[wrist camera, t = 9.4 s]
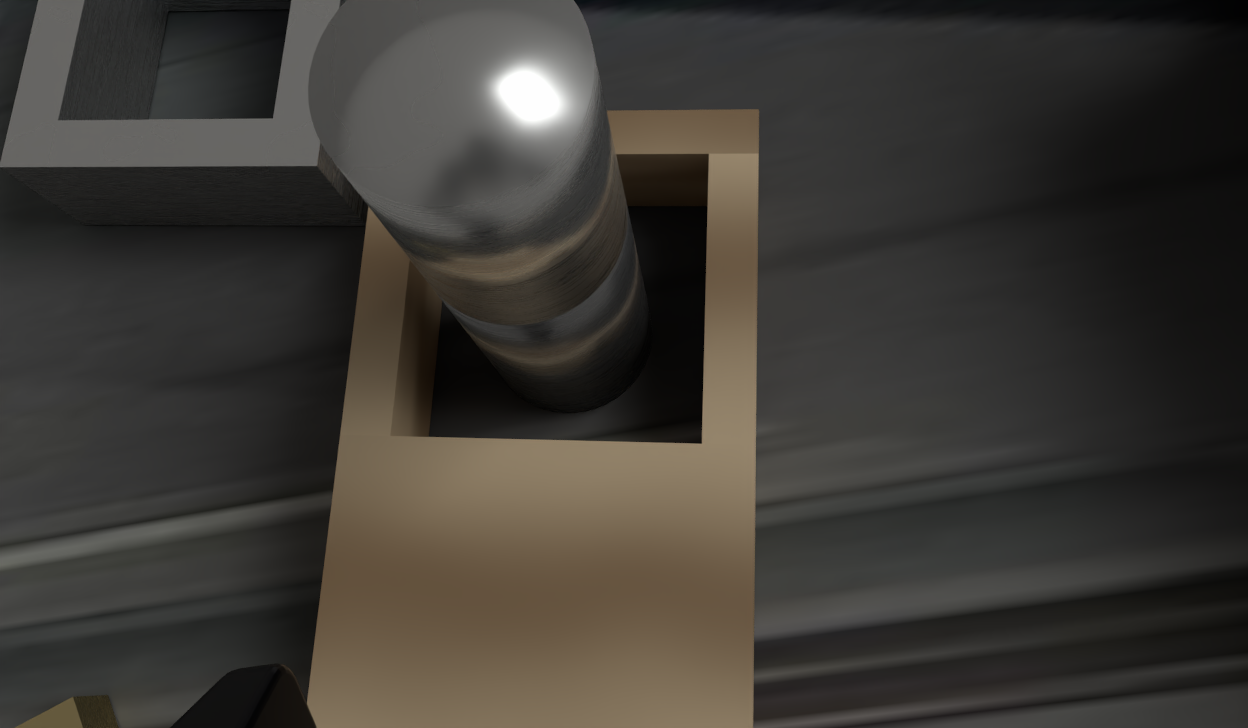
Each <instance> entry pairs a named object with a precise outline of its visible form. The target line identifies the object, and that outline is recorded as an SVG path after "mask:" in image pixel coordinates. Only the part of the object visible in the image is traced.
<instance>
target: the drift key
mask: <svg viewBox="0 0 1248 728" xmlns="http://www.w3.org/2000/svg"><path fill="white" fill-rule="evenodd" d="M15 728H119V727H118V724H117V721H116V718H115V715H114V712H113V709H112V706H111V703H110V700H109V697H108V695H102V696H81V697H72V698H70V699H68V700H66V701H64V702H62V703H60V704H59V705H57V706H55V707H53V708H51V709H49V710H47V711H45V712H43V713H42V714H40V715H38V716H36V717H34V718H32V719H30V720H28V721H26V722H25V723H23V724H21V725H19V726H17V727H15Z"/></svg>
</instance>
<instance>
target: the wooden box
mask: <svg viewBox="0 0 1248 728" xmlns="http://www.w3.org/2000/svg"><path fill="white" fill-rule="evenodd" d="M607 115H608V120H609V124H610V129H611V134H612V138H613V143H614V147H615V152H616V157H617V161H618V166H619V171H620V175H621V180H622V185H623V189H624V194H625V198H626V203H627V206H708V212H707V252H706V293H705V334H704V375H703V416H702V444H694V443H654V442H613V441H572V440H532V439H491V438H450V437H429V429H430V419H431V409H432V399H433V389H434V379H435V369H436V359H437V349H438V339H439V329H440V319H441V309H442V300H441V299H440V297H439V296H438V295H437V294H436V292H435V291H434V290H433V288H432V287H431V286H430V285H429V283H428V282H427V281H426V279H425V278H424V277H423V276H422V274H421V273H420V272H419V270H418V269H417V268H416V267H415V265H414V264H413V263H412V261H411V260H410V259H409V258H408V256H407V255H406V254H405V253H404V251H403V250H402V249H401V247H400V246H399V245H398V244H397V242H396V241H395V240H394V238H393V237H392V236H391V235H390V233H389V232H388V231H387V229H386V228H385V227H384V226H383V224H382V223H381V222H380V220H379V219H378V218H377V217H376V215H375V214H374V213H373V212H372V210H371V209H370V208H369V206H368V214H367V222H366V231H365V239H364V247H363V255H362V263H361V271H360V279H359V287H358V295H357V303H356V311H355V319H354V327H353V335H352V343H351V352H350V360H349V368H348V376H347V384H346V392H345V400H344V408H343V416H342V424H341V432H340V440H339V448H338V456H337V464H336V473H335V481H334V489H333V497H332V505H331V513H330V521H329V529H328V537H327V545H326V553H325V561H324V569H323V577H322V585H321V594H320V602H319V610H318V618H317V626H316V634H315V642H314V650H313V658H312V666H311V674H310V682H309V690H308V698H307V705H308V708H309V710H310V712H311V715H312V717H313V719H314V722H315V724H316V726H317V728H753V677H754V573H755V470H756V366H757V263H758V159H759V109H747V110H637V111H607Z"/></svg>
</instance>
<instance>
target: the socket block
mask: <svg viewBox="0 0 1248 728" xmlns="http://www.w3.org/2000/svg"><path fill="white" fill-rule="evenodd" d="M345 2H346V0H38V4H37V8H36V13H35V17H34V21H33V25H32V30H31V34H30V38H29V42H28V47H27V51H26V55H25V59H24V64H23V68H22V72H21V77H20V81H19V85H18V89H17V94H16V98H15V102H14V106H13V111H12V115H11V119H10V123H9V128H8V132H7V136H6V140H5V145H4V149H3V153H2V157H1V162H0V168H1V169H3V170H4V171H6V172H7V173H8V174H10V175H11V176H13V177H14V178H16V179H17V180H19V181H20V182H22V183H23V184H25V185H26V186H27V187H29V188H30V189H32V190H33V191H35V192H36V193H38V194H39V195H41V196H42V197H44V198H45V199H46V200H48V201H49V202H51V203H52V204H54V205H55V206H57V207H58V208H60V209H61V210H63V211H64V212H65V213H67V214H68V215H70V216H71V217H73V218H74V219H76V220H77V221H79V222H80V223H82V224H83V225H287V226H366V221H367V213H368V205H367V204H366V203H365V201H364V200H363V199H362V197H361V196H360V195H359V194H358V192H357V191H356V190H355V188H354V187H353V186H352V185H351V183H350V182H349V181H348V180H347V178H346V177H345V176H344V174H343V173H342V172H341V171H340V169H339V168H338V167H337V165H336V164H335V163H334V161H333V160H332V159H331V158H330V156H329V155H328V154H327V152H326V151H325V149H324V147H323V146H322V144H321V142H320V140H319V138H318V136H317V134H316V131H315V128H314V125H313V122H312V119H311V114H310V109H309V101H308V82H309V73H310V68H311V63H312V59H313V55H314V53H315V50H316V47H317V45H318V42H319V40H320V38H321V36H322V34H323V32H324V30H325V29H326V27H327V25H328V23H329V22H330V20H331V19H332V18H333V16H334V15H335V13H336V12H337V11H338V9H339V8H340V7H341V6H342V5H343V4H344V3H345ZM271 9H290V12H289V19H288V25H287V32H286V38H285V45H284V51H283V57H282V64H281V70H280V77H279V83H278V89H277V96H276V102H275V109H274V115H273V119H160V120H147V119H148V114H149V108H150V103H151V98H152V93H153V88H154V83H155V77H156V72H157V67H158V62H159V57H160V52H161V47H162V41H163V36H164V31H165V26H166V21H167V16H168V12H172V11H221V10H271Z"/></svg>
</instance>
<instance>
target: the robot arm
mask: <svg viewBox="0 0 1248 728" xmlns="http://www.w3.org/2000/svg"><path fill="white" fill-rule="evenodd" d="M170 728H317V726H316V724H315V722H314V719H313V717H312V715H311V712H310V710H309V708H308V705H307V703H306V701H305V698H304V696H303V693H302V691H301V689H300V686H299V684H298V682H297V679H296V677H295V676H294V674H293V672H292V671H291V670H290V669H289V668H288V667H287V666H285V665H282V664H270V665H262V666H255V667H248V668H241V669H237V670H234V671H231V672H229V673H227V674H226V675H225V676H224V677H222V678H221V679H220V680H219V681H218V682H217V683H216V684H215V685H214V686H213V687H212V688H211V689H210V690H209V691H208V692H206V693H205V694H204V695H203V696H202V697H201V698H200V699H199V700H198V701H197V702H196V703H195V704H194V705H193V706H192V707H191V708H190V709H189V710H188V711H187V712H186V713H185V714H184V715H183V716H182V717H181V718H179V719H178V720H177V721H176V722H175V723H174V724H173V725H172V726H171V727H170Z"/></svg>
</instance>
